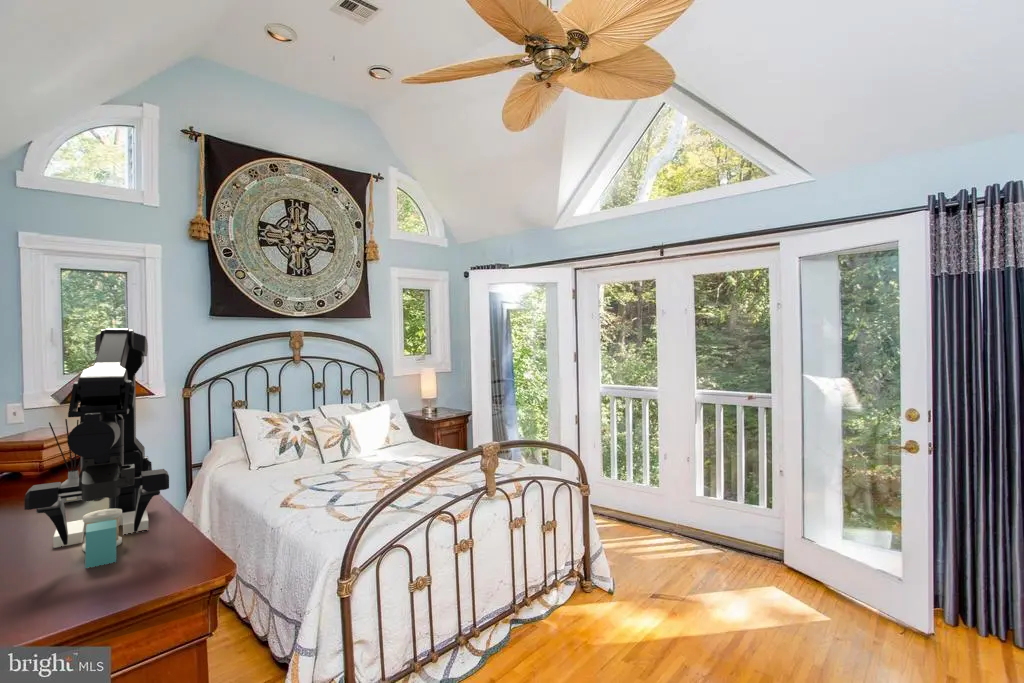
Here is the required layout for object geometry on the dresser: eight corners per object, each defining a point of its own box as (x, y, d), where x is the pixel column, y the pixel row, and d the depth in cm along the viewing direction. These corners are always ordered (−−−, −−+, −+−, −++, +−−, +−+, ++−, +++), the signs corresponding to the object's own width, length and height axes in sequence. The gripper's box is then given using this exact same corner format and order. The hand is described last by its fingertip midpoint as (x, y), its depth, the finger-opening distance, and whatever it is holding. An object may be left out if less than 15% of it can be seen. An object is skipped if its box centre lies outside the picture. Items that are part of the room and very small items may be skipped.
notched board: (58, 533, 97) (58, 523, 97) (146, 518, 106) (146, 509, 106) (53, 548, 90) (53, 537, 90) (148, 530, 99) (148, 520, 99)
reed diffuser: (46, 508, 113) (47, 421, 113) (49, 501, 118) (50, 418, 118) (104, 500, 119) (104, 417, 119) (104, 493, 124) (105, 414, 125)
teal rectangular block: (86, 559, 85) (87, 524, 85) (116, 553, 88) (116, 519, 88) (85, 569, 81) (85, 532, 82) (116, 562, 84) (116, 527, 84)
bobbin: (83, 545, 91) (83, 512, 91) (121, 537, 95) (122, 506, 95) (81, 554, 87) (81, 520, 87) (121, 546, 90) (122, 513, 91)
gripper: (19, 463, 73) (18, 569, 73) (172, 447, 85) (171, 538, 84) (30, 451, 82) (28, 545, 81) (167, 438, 93) (166, 520, 93)
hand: (101, 537), depth 85 cm, fingers open, 9 cm apart
